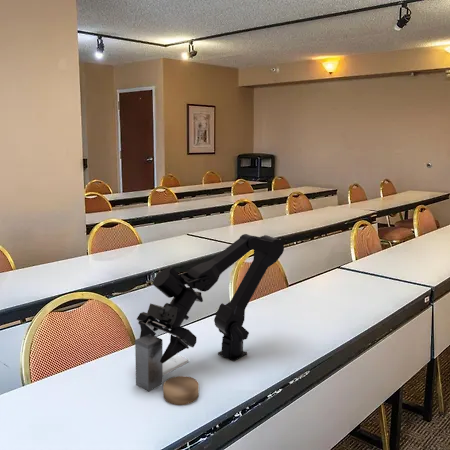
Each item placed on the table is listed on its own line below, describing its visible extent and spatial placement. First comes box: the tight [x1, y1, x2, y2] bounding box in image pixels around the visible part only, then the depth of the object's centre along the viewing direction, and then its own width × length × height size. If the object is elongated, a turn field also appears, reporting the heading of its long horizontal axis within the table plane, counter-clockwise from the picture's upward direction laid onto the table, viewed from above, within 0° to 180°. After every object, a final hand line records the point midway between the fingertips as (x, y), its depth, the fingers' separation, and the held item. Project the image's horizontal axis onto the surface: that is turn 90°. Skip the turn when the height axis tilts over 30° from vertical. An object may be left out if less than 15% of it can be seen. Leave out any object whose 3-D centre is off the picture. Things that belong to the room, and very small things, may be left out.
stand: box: [162, 375, 200, 406], centre depth 131 cm, size 9×9×3 cm
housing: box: [134, 334, 164, 392], centre depth 135 cm, size 5×5×13 cm
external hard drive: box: [162, 353, 190, 377], centre depth 147 cm, size 2×8×12 cm
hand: (149, 356), depth 134 cm, fingers open, 9 cm apart
